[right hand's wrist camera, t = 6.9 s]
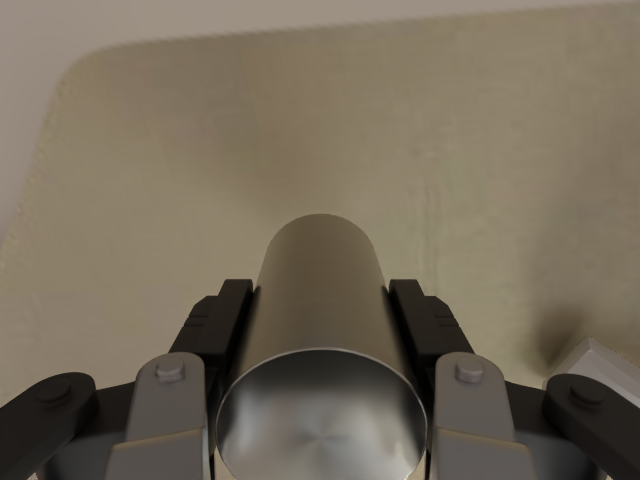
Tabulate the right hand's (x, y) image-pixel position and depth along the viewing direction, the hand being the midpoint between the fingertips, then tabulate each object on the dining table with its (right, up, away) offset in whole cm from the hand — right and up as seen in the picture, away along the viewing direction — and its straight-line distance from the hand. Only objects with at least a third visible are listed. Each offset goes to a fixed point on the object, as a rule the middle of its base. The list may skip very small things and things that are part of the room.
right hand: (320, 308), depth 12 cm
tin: (0, +1, +3) cm, 3 cm away
